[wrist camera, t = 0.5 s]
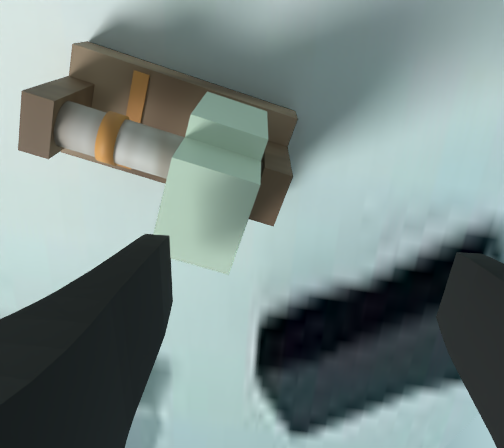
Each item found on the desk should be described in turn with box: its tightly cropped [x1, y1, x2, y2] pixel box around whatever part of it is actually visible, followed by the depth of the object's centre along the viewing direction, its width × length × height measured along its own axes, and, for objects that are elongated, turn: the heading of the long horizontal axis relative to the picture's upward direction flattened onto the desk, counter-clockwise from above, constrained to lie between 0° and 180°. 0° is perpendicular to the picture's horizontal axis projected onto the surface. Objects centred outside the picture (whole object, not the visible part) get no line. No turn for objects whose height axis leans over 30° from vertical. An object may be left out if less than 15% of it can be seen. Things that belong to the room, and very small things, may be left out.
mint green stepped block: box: [153, 92, 268, 275], centre depth 14 cm, size 2×4×6 cm, turn 163°
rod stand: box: [18, 41, 298, 226], centre depth 16 cm, size 9×4×5 cm, turn 73°
